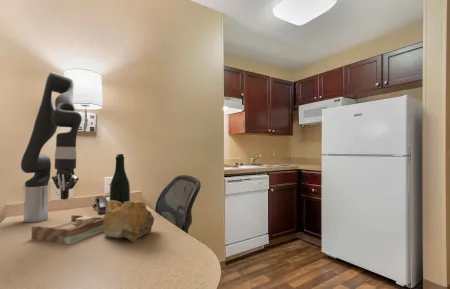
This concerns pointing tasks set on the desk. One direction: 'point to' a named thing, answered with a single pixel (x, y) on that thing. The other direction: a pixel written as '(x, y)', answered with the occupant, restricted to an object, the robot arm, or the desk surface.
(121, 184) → the dark green wine bottle
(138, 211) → the rough brown rock
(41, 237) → the tray
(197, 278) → the desk surface
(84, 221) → the birch block
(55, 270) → the desk surface
